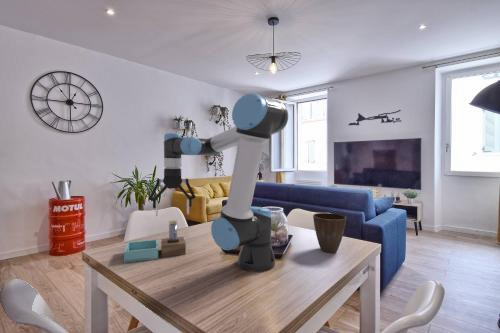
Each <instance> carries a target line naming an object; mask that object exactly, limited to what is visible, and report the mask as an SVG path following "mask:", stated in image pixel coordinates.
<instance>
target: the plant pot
mask: <svg viewBox="0 0 500 333" xmlns="http://www.w3.org/2000/svg"><path fill="white" fill-rule="evenodd" d="M312 217H313V218H312V219H313V225H314V231H315V235H316V239H317V242H318V245H319V246H318V247H319V248H320V250H321V251H322V252H325V253H330V252H333V253H336V251H337V252H338V250H339V247H340V245H341V242H342V240H343V236H344V233H345V229H346V222H347V216H346V215H343V214H339V213H333V212H318V213H314V214H313V215H312Z"/></svg>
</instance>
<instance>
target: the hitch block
mask: <svg viewBox="0 0 500 333" xmlns="http://www.w3.org/2000/svg"><path fill="white" fill-rule="evenodd" d="M160 243H161V244H160V247H161V248H160V249H161V258H166V257H175V256H182V255H183V256H184V255H186V248H187V246H186V244H187V243H186V240H185V238H184V236H179V237H178V236H177V242H175V243H169V237H168V238H167V237H166V238H161V242H160Z"/></svg>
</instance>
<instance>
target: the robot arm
mask: <svg viewBox="0 0 500 333" xmlns="http://www.w3.org/2000/svg"><path fill="white" fill-rule="evenodd" d="M231 119H232V121H233V124H234V125H235V126H233V127H231V128H229V129H227V130H224V131H223V132H220V133H218V134H215V135H213V136H211V137H208V138H199V137H196V136H187V137H186V136H184V137H182V134H181V133H171V132H169V133H168V132H166V133H164V135H163V136H164V137H163V167H164V169H163V179H161V178H157V179H156V183H155V185H154V187H153V188H152V191H151V192H150V195H149V197H148V200H149V201H152V208H153V209H155V217H158V214H159V213H158V205H159V204H158V199H159V198H160V197H161V196H162V194H163V193H164V192H165V191H166V190H168V189H169V190H172V189H174V190H176V189H179V190H180V191H181V192H182V193H183V194H184V196H186V198H187V199H186V214H187V215H189V214H190V207H191V208H192V201H193V200H194V199H196V197H197V196H196V195H195V193H194V190H193V189H192V186H191V185H190V183H189V178H187V177H186V178H182V156H212V157H213V156H218V155H221V153H222V151H225V150H227V149H230V148H234V147H237V149H236V154H235V157H234V158H235V159H234V164H233V169H232V174H231V175H232V176H231V180H230V184H229V190H228V195H227V201H226V204H225V205H223V206H222V207H221V209H220V215H219V216H218V217H217V218H215V219H214V220H212V222H211V226H210V232H211V233H210V234H211V236H212V239H213V240H214V243H215V244H216V246H217V247H219V248H220V249H221V250H224V251H230V250H235V249H238V248H239V247H240V252H239V253H238V257H237V266H238V267H239V268H241V269H242V270H245V271H248V272H265V271H266V272H267V271H269V270H272V269H273V268H275V266H276V258H275V253H274V250H273V248H272V220H273V219H272V210H270V209H269V208H267V207H262V206H252V203H253V198H254V193H255V189H256V184H257V180H258V176H259V175H258V174H259V169H260V164H261V160H262V155H263V150H264V145H265V144H266V143H267V142H268V141H270V139H271V136H273V135H275V134H277V133H279V132H282V130H284V129H285V127H286V125H287V124H288V121H289V112H288V109H287V107H286V106H285V105H284V103H282V102H281V101H279V100H277V99H272V98H270V97H267V96H264V95H263V94H258V93H257V94H256V93H252V92H251V93H246V94H243V95H242V96H241V97H240V98H238V99H237V100H236V102H235V103H234V105H233V108H232V112H231ZM162 183H163V185H164V186H163V187H162V188H161V189H160V190H159V192H158V193H156V191H157V189H158V187H159V186H160V185H161V184H162ZM182 183H184V184H185V185H186V187H187V190H188V192H189V193H190V195H189V193H188V192H187V191H186V190H185V189H184V188H183V186H182ZM155 193H156V195H155ZM154 195H155V196H154Z"/></svg>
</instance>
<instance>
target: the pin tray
mask: <svg viewBox="0 0 500 333" xmlns="http://www.w3.org/2000/svg"><path fill="white" fill-rule="evenodd" d="M123 259H124V260H123V263H124V264H126V263H135V262H144V261H152V260H159V238H158V239H149V240H146V239H145V240H138V241H128V242H127V243H126V245H125V248H124V252H123Z"/></svg>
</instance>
